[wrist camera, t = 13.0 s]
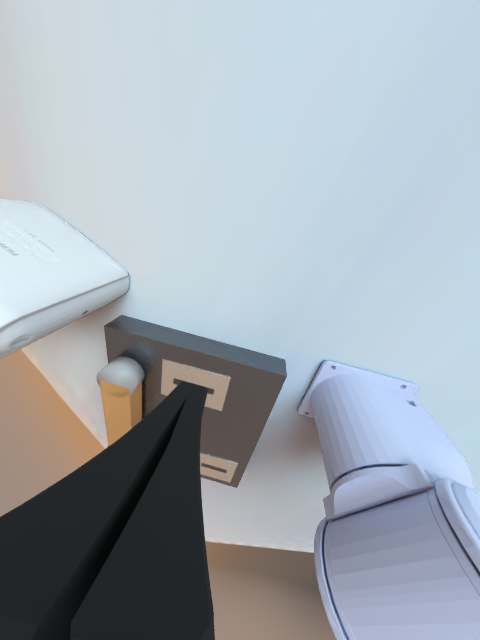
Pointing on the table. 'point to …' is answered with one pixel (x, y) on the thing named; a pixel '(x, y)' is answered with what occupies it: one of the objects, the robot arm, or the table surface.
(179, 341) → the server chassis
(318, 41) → the table surface
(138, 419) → the tan grey headed bar
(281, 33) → the table surface
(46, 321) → the photo printer
